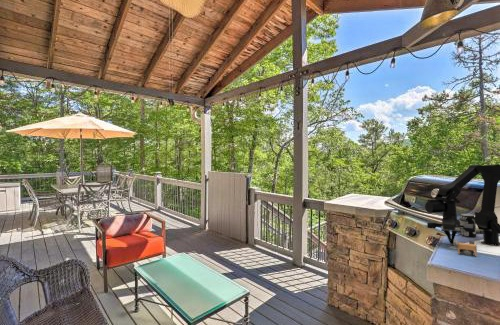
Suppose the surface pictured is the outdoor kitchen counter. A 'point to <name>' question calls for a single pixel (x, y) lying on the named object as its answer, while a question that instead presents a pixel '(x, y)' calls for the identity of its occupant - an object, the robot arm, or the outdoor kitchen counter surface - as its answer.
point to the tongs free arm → (456, 244)
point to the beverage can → (467, 220)
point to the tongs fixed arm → (468, 252)
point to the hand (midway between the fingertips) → (451, 243)
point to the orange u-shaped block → (467, 247)
